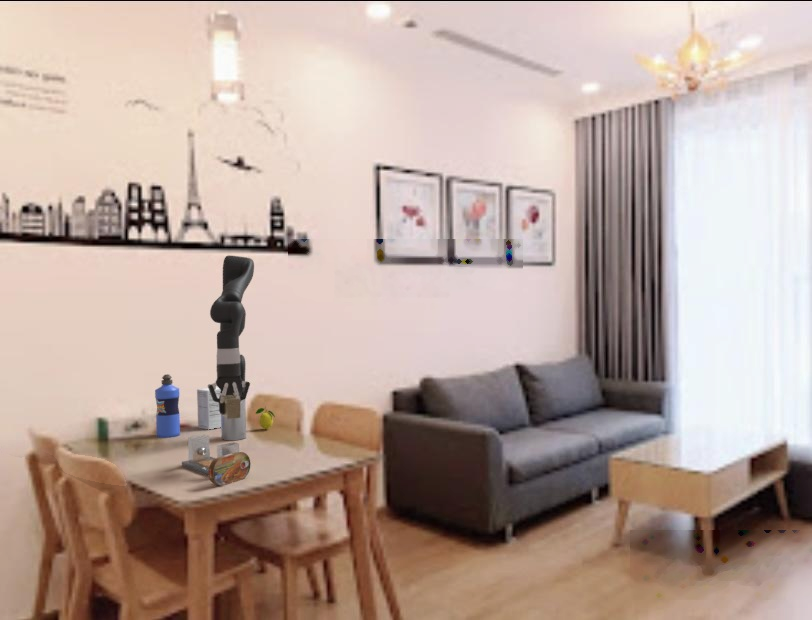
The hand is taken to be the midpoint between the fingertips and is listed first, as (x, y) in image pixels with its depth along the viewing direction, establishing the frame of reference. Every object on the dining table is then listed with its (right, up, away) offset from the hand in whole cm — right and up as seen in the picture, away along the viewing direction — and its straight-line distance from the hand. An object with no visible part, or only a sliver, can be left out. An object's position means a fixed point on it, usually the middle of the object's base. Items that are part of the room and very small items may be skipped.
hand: (229, 413), depth 221 cm
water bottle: (-39, -17, +52) cm, 68 cm away
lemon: (-1, -17, +61) cm, 63 cm away
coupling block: (0, -1, 0) cm, 1 cm away
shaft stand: (-4, -18, -3) cm, 19 cm away
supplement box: (-26, -17, +69) cm, 75 cm away
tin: (+5, -18, -18) cm, 26 cm away
